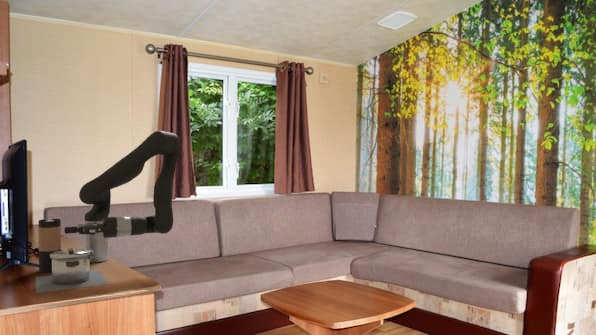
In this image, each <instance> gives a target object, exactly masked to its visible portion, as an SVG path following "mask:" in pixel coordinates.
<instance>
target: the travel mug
mask: <svg viewBox="0 0 596 335" xmlns="http://www.w3.org/2000/svg"><path fill="white" fill-rule="evenodd" d="M61 222H62V220H61V219H60V218H52V219H50V220H48V219H45V218H44V219H39V220H38V268H39V270H38V271H39V273H41V274H52V258H50V254H51V253H53V252H56V251H61V250H62V231H61V230H62V229H61V228H62V227H61V226H62V224H61Z"/></svg>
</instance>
